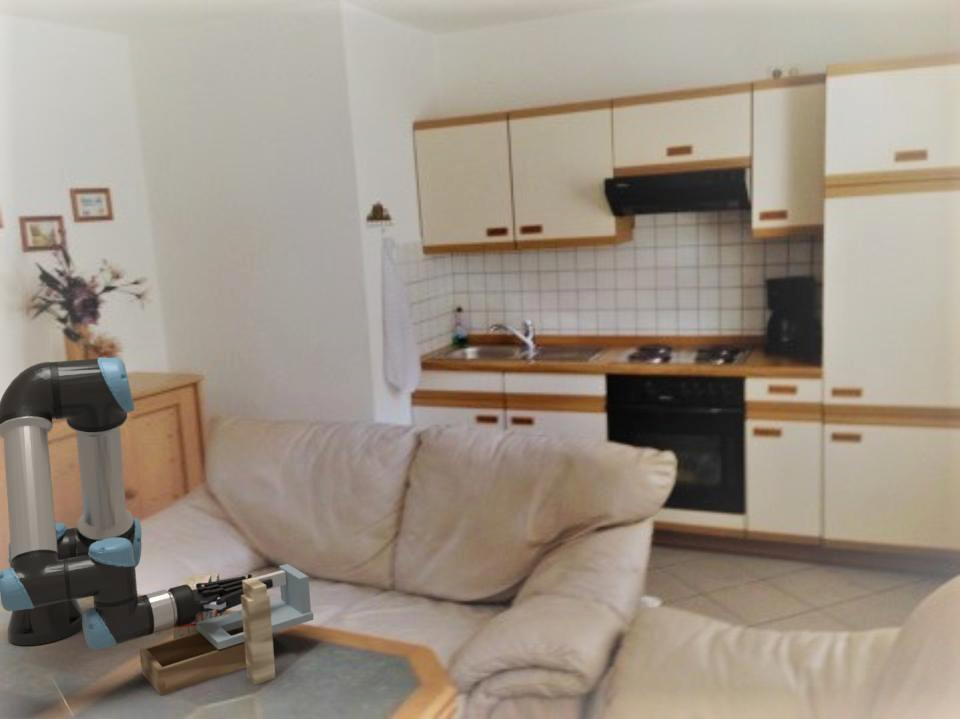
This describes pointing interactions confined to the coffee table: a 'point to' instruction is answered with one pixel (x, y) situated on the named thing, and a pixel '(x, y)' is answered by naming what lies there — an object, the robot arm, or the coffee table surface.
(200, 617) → the stack of blocks
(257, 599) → the key
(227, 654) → the wooden box
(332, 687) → the coffee table surface
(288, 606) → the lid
